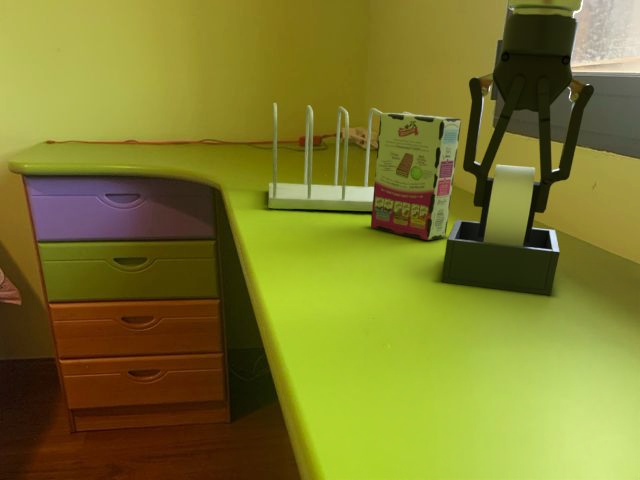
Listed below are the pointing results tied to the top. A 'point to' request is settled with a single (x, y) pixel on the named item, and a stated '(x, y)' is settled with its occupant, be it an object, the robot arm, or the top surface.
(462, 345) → the top surface
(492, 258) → the tote
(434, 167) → the candy bar box
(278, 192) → the file sorter
